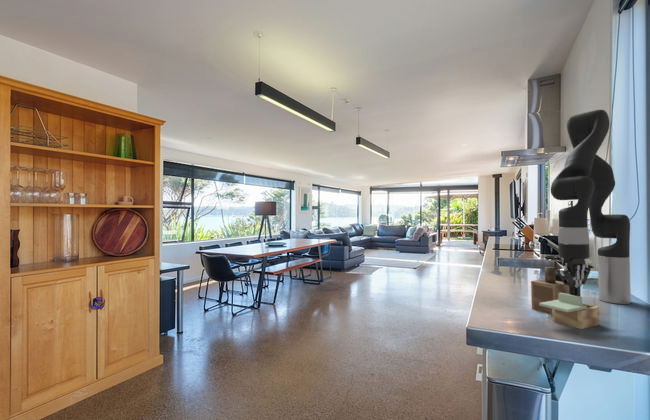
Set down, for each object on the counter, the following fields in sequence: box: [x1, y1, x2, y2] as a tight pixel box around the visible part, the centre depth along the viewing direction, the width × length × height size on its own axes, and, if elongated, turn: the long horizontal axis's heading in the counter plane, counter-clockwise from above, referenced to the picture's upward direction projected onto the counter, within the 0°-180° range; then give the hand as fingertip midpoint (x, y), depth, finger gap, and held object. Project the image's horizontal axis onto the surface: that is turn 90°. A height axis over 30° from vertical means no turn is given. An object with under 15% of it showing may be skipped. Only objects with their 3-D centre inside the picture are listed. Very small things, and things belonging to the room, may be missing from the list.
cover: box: [530, 266, 569, 315], centre depth 111 cm, size 8×8×16 cm
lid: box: [539, 293, 587, 312], centre depth 97 cm, size 9×8×3 cm
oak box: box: [551, 302, 600, 330], centre depth 99 cm, size 9×8×6 cm
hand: (574, 298), depth 99 cm, fingers closed
